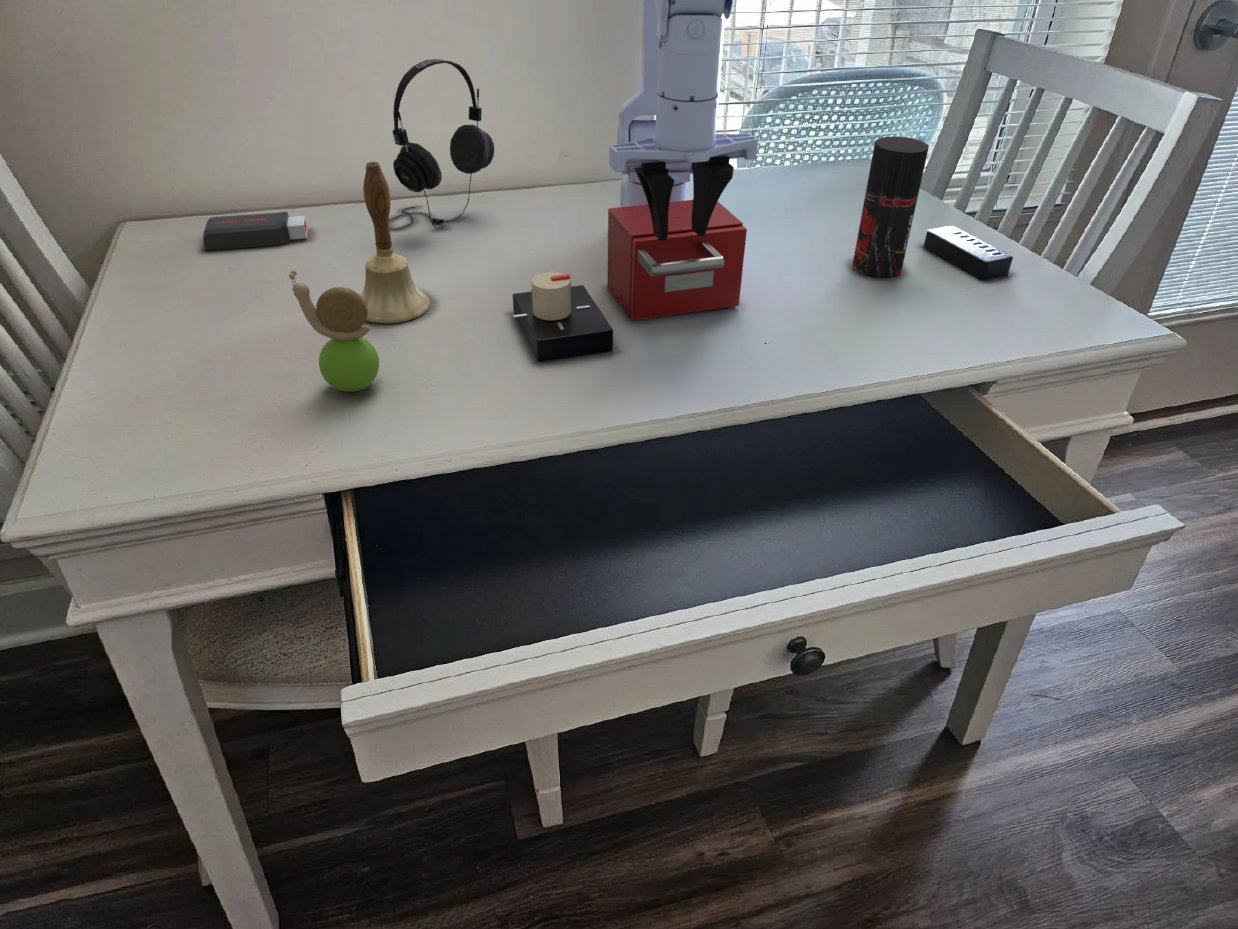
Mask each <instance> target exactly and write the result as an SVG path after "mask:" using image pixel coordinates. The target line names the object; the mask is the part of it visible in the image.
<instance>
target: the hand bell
mask: <svg viewBox="0 0 1238 929" xmlns="http://www.w3.org/2000/svg"><path fill="white" fill-rule="evenodd" d="M364 173H365V174H364V180H363V184H362V185H363V188H362V190H363V197H364V202H365V206H366V209H367V212H368V215H369V216H370V219H371V221H372V224H373V229H374V240H375V248H376V254H375V255H373V256H371V257H369V258H368V259H367V260H366V262H365V265H364V266H365V268H364V269H365V278H364V279H365V280H364V287H363V290H362V292H361V294H359V295H360V296H361V297H362V298H363V300H364V301H365V303H366V305H367V310H368V316H367V319H366V321H365V322H368V323H369V322H370V323H374V324H382V325H383V324H387V325H388V324H390V325H391V324H400V323H401V324H402V323H405V322H409V321H413V320H415V319H417V318H419V317H421V316H423V315H425V313H427V311H429V309H430V306H431V301H430V299H429V297H428V296H427V295H426V294H425V293H424V292H423V291H422V290H420V289H419V287H418V286H417V284H416V283H415V282H414V280H413V277H412V274H411V271H410V268H409V262H408V260H407V259H406V258H405V257H404V256H402V255H400V254H397V253H395V252H394V248H393V241H392V236H391V230H390V221H389V219H390V213H391V193H390V188H389V184H388V181H387V178H386V177H385V175H384V172H383V171H382V167H381V166H380V163H379V162H377V161H369V162H366V164H365V172H364Z"/></svg>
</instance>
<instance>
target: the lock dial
mask: <svg viewBox="0 0 1238 929" xmlns="http://www.w3.org/2000/svg"><path fill="white" fill-rule="evenodd" d="M571 282H572V280H571V275H570V274H569V273H566V274H565V273H561V272H557V271H549V272H548V271H547V272H540V273H537V274H536V275H534V276H533V277H532V278H531V291H532V305H533V314H534V315H535V316H536V317H537V318H539V319H543V320H551V321H553V320H560V319H564V318H566V317H568V316H569V315H570V313H571V286H572V285H571Z"/></svg>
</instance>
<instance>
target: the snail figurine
mask: <svg viewBox="0 0 1238 929" xmlns="http://www.w3.org/2000/svg"><path fill="white" fill-rule="evenodd" d="M297 273H298V272H297V271H296V270H295V269H291V270H290V273H289V274H288V278H289V280H291V283H292V286H293V287H292V292H293V296H294V297H295V298H296V299H297V301H298V305H299V307H300V309H301V311H302V313H303V315H304V317H305V319H306V321H307V323H308V324H309V325H310V326H311V328H312V329H313V330H314V331H315V332H317V334H319V335H321V336H323V337H326V338H329V340H328V341H327V342H326V343H325V344H323V347H322V348H321V349H320V353H319V357H318V367H319V371H320V374H321V376H322V378H323V379H324V380H325V382H326V383H327V384H328V385H329V386H330V387H332V388H334V389H335V390H338V391H341V392H344V393H345V392H347V393H354V392H359V391H361V390H364V389H366V388H367V387H369V386H370V385H371V384H373V382H374V381H375V379H376V377H377V375H378V374H379V370H380V359H379V354H378V352H377V350H376V348H375V346H373V345H374V344H372V343H371V342H370V341H369V340H368V339H366V338H364V337H365V336H366V335H367V334H368V333H369V332H370V331H371V329H372V327H371V325H364V324H365V323H366V322H367V321H366V319H367V316H368V310H367V305H366V303H365V301H364V300H363V298H362V297H361V296H360V295H361V294H359V293H358V292H357V291H355V290H352V289H351V288H348V287H344V286H343V287H342V286H336V287H331V288H329V289H326V290H324V292H322V293H321V294H320V296H319V297H318V299H317V301H316V306H315V304H314V302H313V301H312V299H311V296H310V294H311V293H310V292H311V291H310V288H309V286H308V285H307V284H306V283H303V282H296V275H298V274H297ZM294 283H295V284H294Z"/></svg>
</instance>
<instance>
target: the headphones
mask: <svg viewBox="0 0 1238 929" xmlns="http://www.w3.org/2000/svg"><path fill="white" fill-rule="evenodd" d="M439 64H440V65H441V64H448V65H451V66H452V67H454V68H455V69H456V70H457V71H458V72H459V73H460V75H461V76H462V77H463V79H464V81H465V82H466V84H467V86H468V90H469V92H470V98H471V103H472V105H471V106H468V120H470V121H474V122H476V125H475V124H463V125H460V126H459V127H457V129H456V130H455V131H454V132H453V135H452V137H451V139H450V142H449V156H450V160H451V161H452V165H453V166H454V167H455V168H456V169H457V170H458V171H459V172H461V173H463V174H467V175H470V176H469V184H468V185H469V187H468V198H467V203H466V204H465V207H464V208H463V211H462V213H460V214H459V215H458V216H457V217H455V218H454V219H449V220H444V219H443V218H435V217H434V218H432V217H431V216H432V215H431V210H430V204H429V201H428V196H427V193H426V190H433V189H435V188H436V187H439V186H440V184H441V182H442V180H443V176H442V175H443V174H442V170H441V168H440V166H439V163H438V161H437V160H436V158H435V156H434V155H433V154H432V152H430V151H429V150H428V149H426V148H425V147H423V146H422V145H421V144H419V143H416V142H411V141H409V136H408V133H407V129H405V128H404V125H403V122H402V116H401V112H400V106H401V102H402V98H403V95H404V94H405V91H406V89H407V86H408V85H409V84H410V83H411V81H412V80H413V79H414V78H415V77H416V76H417V75H418V74H419V73H421V72H423V71H424V70H426V69H427V68H429V67H432V66H435V65H439ZM475 92H476V93H475ZM479 102H480V88H476V91H475V89H474V84H473V81H472V79H471V77H470V75H469V74H468V72H467V70H466V69H465V68H464V67H463V66H462V65H461V64H459V63H456V62H453V61H451V60H445V59H440V58H433V59H432V58H431V59H426V60H423V61H421V62H418V63H416V64H415V65H413V66H412V67H410V69H408V70H407V72H405V74H404V75H403V76H402V78H401V79H400V81H399V82H398V86H397V88H396V92H395V97H394V101H393V128H394V129H392V135H393V136H392V137H393V139H394V144H395V145H397V146H401V147H400V150H399V153H397V156H396V158H395V159H394V160H393V162H392V166H393V171H394V175H395V177H396V178H397V180H398V181H399V183H400V184H401V185H402V186H403V187H405V188H406V189H407V190H408V191H410V192H414V193H421V192H423V194H424V196H425V199H426V204H427V209H428V214H427V213H423V212H419V214H422V215H423V216H427V218H428V219H429V220H430V222H431V225H432V226H433V227H434V228H435V230H442V229H444V228H445V226H444V225H443V224H442V223H444V222H446V223H449V222H452V221H455V220H457V219H459V218H461V216H462V215H464V212H465V211H466V209H467V207H468V205H469V201H470V196H471V195H470V193H471V183H472V182H471V181H472V175H473V174H476V173H478V172H480V171H481V170H482V169H485V168H488V166H490V164H491V163H492V161H493V159H494V157H495V156H494V155H495V143H494V141H493V139H492V137H491V135H490V134H489V133H487V132H486V131H484V130H482V128H480V127H479V122H482V111H483V108H482V107H479V106H480V105H479V104H480V103H479ZM399 124H400V127H399ZM415 208H416V206H411V207H405V208H403V209H401V213H403V214H399V215H397V216H394V217H392V218H389V222H390V221H391V220H394V219H397V218H399V217H403V216H404V215H408V216H410V218H411V222H410V223H408V224H406V225H404V226H401V227H397V228H395V230H401V229H403V228H406V227H408V226H409V227H410V225H411V224H412V223H414V218H413V216H412V215H411V214H412V212H407V211H405V210H409V209H415ZM413 214H418V212H416V211H415V212H413ZM434 223H435V224H434ZM435 225H437V226H438V225H439V226H441V227H436V226H435ZM390 229H391V230H394V227H393V228H392V227H389V230H390Z"/></svg>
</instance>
